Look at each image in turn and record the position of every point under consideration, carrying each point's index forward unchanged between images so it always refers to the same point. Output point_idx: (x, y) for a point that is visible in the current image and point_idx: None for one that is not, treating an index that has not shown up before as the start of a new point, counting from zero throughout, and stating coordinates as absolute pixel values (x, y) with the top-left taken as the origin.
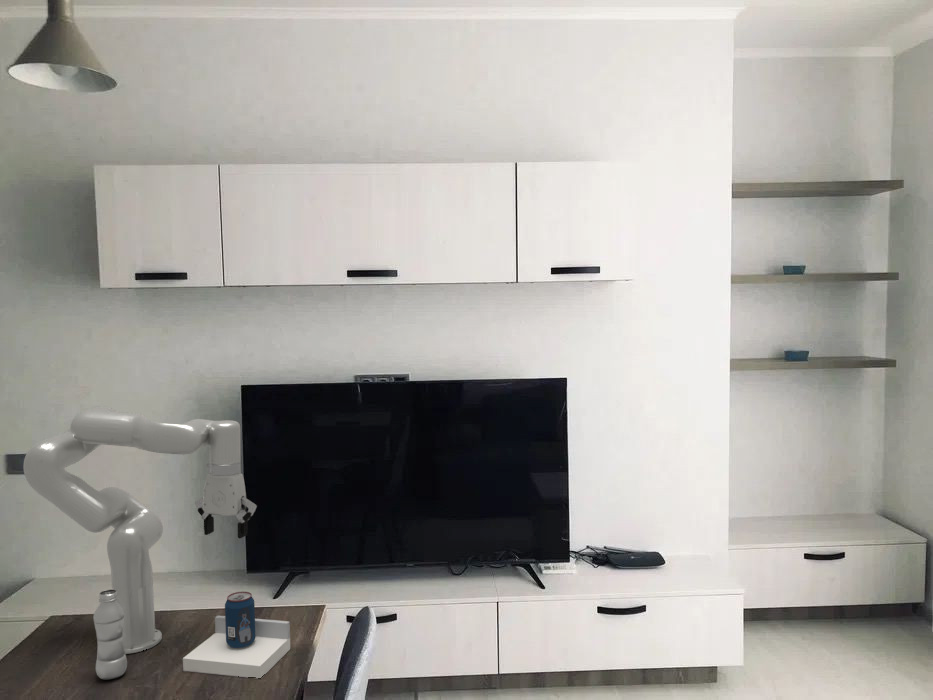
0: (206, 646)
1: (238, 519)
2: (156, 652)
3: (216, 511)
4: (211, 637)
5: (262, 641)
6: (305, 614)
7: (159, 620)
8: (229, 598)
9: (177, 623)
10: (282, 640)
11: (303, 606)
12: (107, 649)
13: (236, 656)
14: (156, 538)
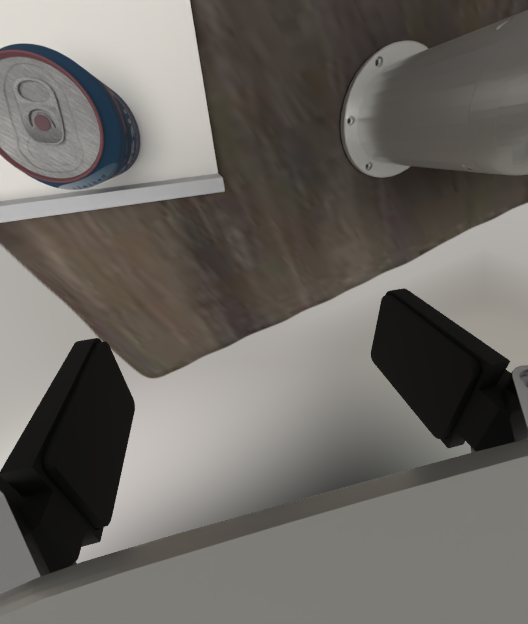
0: (179, 83)
1: (12, 530)
2: (319, 85)
3: (459, 555)
4: (208, 144)
5: None
6: (142, 347)
7: (391, 229)
8: (75, 94)
9: (353, 230)
10: (7, 190)
11: (172, 368)
12: None
13: (32, 37)
14: None
